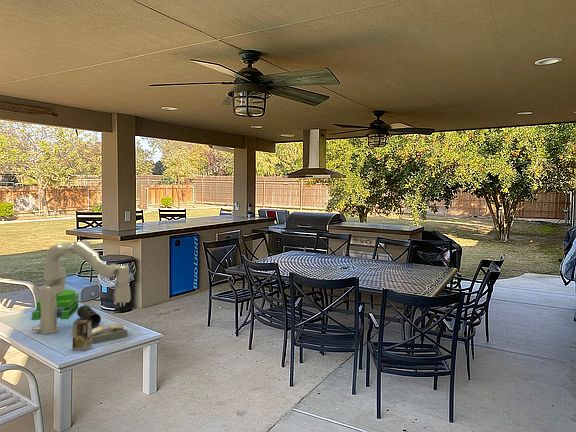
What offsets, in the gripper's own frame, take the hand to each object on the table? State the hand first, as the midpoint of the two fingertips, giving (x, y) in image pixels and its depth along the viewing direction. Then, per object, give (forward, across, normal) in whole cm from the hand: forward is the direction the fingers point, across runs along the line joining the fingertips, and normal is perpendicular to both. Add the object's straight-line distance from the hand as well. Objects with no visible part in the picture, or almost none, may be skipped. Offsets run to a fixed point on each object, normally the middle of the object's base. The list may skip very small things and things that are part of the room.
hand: (121, 311), depth 285 cm
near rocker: (+9, -16, 0) cm, 18 cm away
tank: (+17, -14, +73) cm, 77 cm away
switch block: (+15, -9, -1) cm, 18 cm away
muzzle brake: (+16, -4, +38) cm, 42 cm away
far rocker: (+9, -4, 0) cm, 10 cm away
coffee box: (+16, -28, -10) cm, 34 cm away
